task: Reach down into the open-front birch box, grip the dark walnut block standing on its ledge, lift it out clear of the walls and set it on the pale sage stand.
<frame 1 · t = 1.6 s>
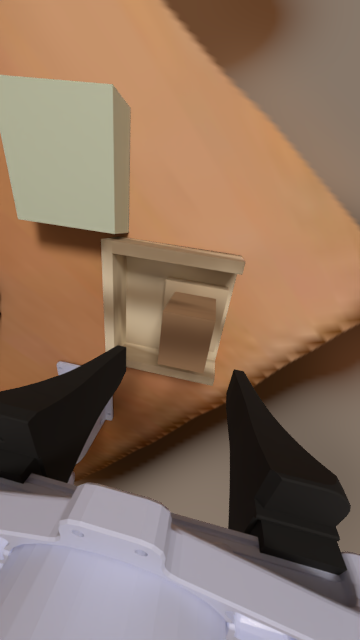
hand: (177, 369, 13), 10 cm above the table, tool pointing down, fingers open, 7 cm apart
walnut block: (191, 318, 21), point 2 cm above the table, touching birch box
birch box: (170, 307, 23), on the table
sage stand: (81, 171, 18), on the table
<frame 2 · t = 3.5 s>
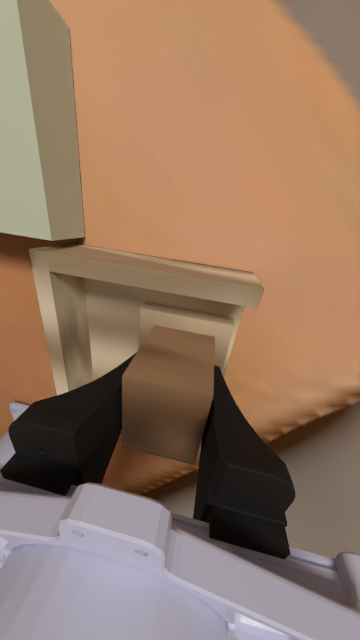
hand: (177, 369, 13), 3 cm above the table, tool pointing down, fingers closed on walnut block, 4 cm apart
walnut block: (179, 361, 14), point 2 cm above the table, touching birch box, gripper
birch box: (151, 341, 16), on the table
sage stand: (5, 142, 12), on the table
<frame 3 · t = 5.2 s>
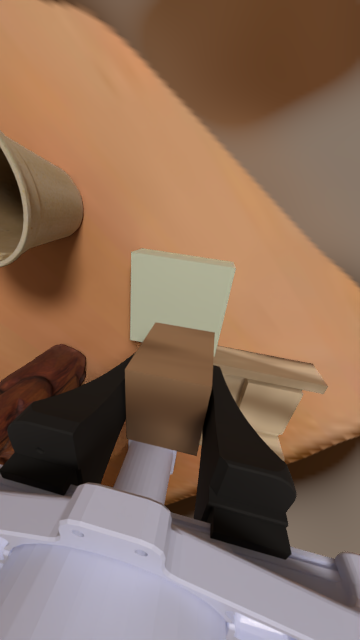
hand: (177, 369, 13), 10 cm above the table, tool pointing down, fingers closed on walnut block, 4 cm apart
walnut block: (180, 357, 15), point 9 cm above the table, touching gripper
birch box: (243, 394, 26), on the table
flower pot: (57, 203, 20), on the table
wooden figurine: (66, 372, 30), on the table
sage stand: (181, 298, 22), on the table
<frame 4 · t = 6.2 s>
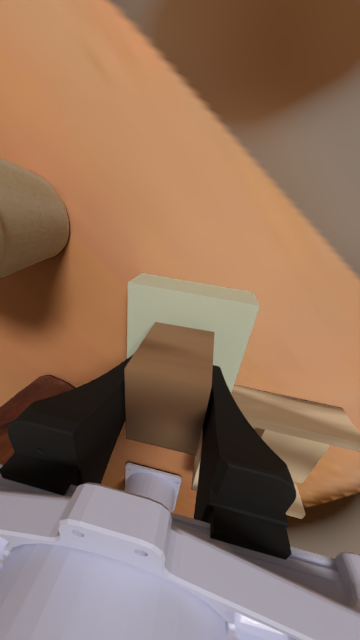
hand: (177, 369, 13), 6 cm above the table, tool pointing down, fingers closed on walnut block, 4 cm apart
walnut block: (180, 357, 15), point 4 cm above the table, touching gripper
birch box: (257, 436, 23), on the table
flower pot: (38, 217, 17), on the table
wooden figurine: (55, 403, 27), on the table
sage stand: (188, 330, 18), on the table
when the fingers open (5 cm above the table, at t = 7.0 s): walnut block drops 1 cm, resting on sage stand.
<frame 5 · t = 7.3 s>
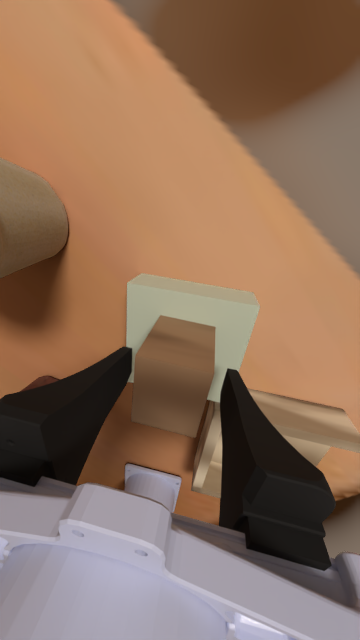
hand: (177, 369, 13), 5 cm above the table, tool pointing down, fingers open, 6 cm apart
walnut block: (182, 349, 16), point 3 cm above the table, touching sage stand
birch box: (257, 437, 23), on the table
flower pot: (36, 217, 16), on the table
sage stand: (187, 331, 18), on the table
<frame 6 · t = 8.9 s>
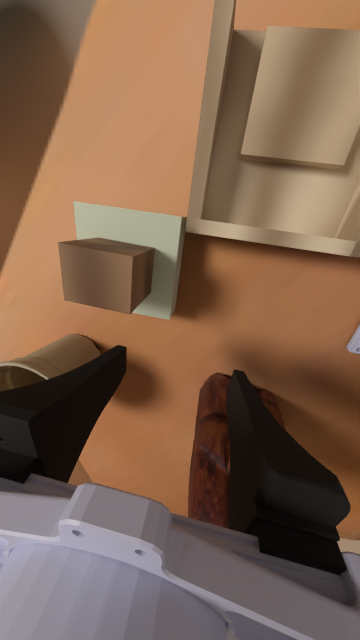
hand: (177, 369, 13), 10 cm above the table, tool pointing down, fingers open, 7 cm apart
walnut block: (125, 266, 18), point 3 cm above the table, touching sage stand
birch box: (286, 157, 16), on the table
flower pot: (82, 351, 28), on the table
wooden figurine: (240, 398, 27), on the table
sage stand: (137, 260, 21), on the table
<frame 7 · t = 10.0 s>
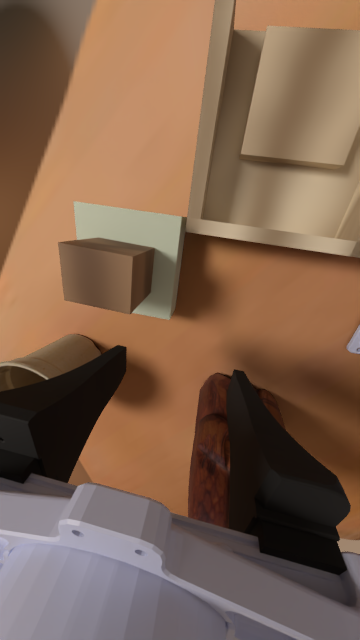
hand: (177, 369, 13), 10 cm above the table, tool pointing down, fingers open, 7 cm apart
walnut block: (125, 266, 18), point 3 cm above the table, touching sage stand
birch box: (286, 157, 16), on the table
flower pot: (82, 351, 28), on the table
wooden figurine: (240, 398, 27), on the table
sage stand: (137, 260, 21), on the table
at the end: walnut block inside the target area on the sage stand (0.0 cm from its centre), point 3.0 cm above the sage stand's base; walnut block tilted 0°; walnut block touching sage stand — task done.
